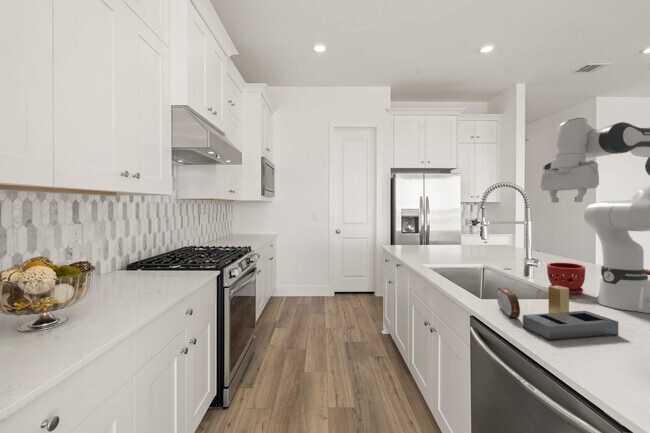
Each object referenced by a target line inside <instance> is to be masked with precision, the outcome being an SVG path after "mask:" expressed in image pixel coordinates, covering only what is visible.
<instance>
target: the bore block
mask: <svg viewBox="0 0 650 433" xmlns="http://www.w3.org/2000/svg"><path fill="white" fill-rule="evenodd" d="M522 329H525V330H527V331H528V332H531V333H533V334H534V335H537V336H539V337H541V338H543V339H545V340H547V341H548V342H554V341H555V342H556V341H564V340H577V339H578V340H579V339H590V338H591V339H592V338H603V337H605V338H606V337H616V336H619V321H617V320H616V319H615V320H614V319H611V318H608V317H605V316H603V315H600V314H597V313H593V312H591V311H588V310H578V311H577V310H576V311H569V312H560V313H549V312H547V313H532V314H522Z"/></svg>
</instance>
